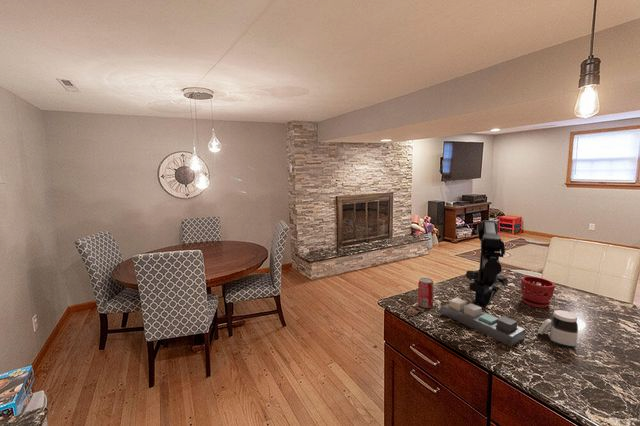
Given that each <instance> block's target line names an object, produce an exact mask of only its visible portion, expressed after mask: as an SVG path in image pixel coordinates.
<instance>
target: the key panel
mask: <svg viewBox="0 0 640 426" xmlns="http://www.w3.org/2000/svg"><path fill="white" fill-rule="evenodd" d="M449 306H450V302H449V303H447V304H444V305H442V306H441V315H442V316H445V317H447V318H449V319H451V320H454V321H456V323H457V322H458V323H459V324H462V325H464V326H465V327H466V326H467V327H468V328H470V329H473V330H475V331H477V332H479V333H481V334H483V335H486V336H487V337H490V338H492V339H493V340H496V341H497V342H498V341H499V342H501V343H503V344H505V345H507V346H509V347H510V348H511V347H513V346H515V345H516V344H518V343H520V342H522V341H523V340H525V338H526V337H525V336H526V329H525V328H523V327H521V326H519V325H517V330H516V331H514V332H512V333H509V332H506V331H504V330H502V329H499V328H497V323H496V324H494V325H490V324H488V323H486V322H483V321H481V320H479V317H480V316H479V317H476V318H474V317H472V316H469V315H467V314H465V313H464V310H462V311H458V310H455V309H453V308H451V307H449ZM484 314H488V315H491V314H489V313H487V312H484V311H482V314H481V316H482V315H484ZM491 316H493V317H496V316H494V315H491ZM496 318H498V319H499V318H500V317H496Z"/></svg>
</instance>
